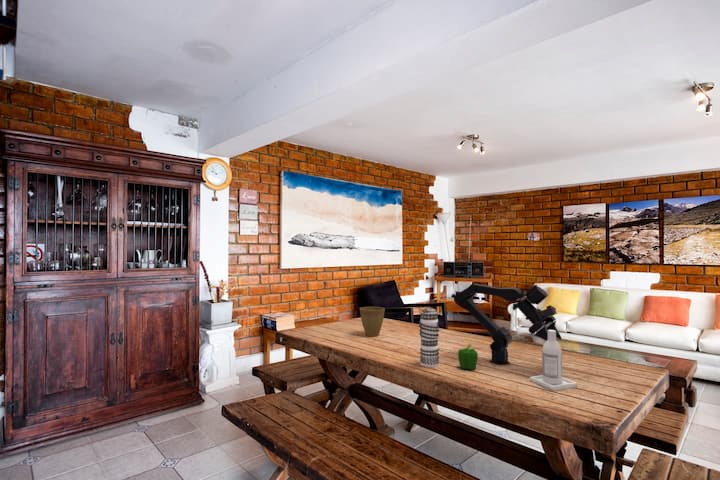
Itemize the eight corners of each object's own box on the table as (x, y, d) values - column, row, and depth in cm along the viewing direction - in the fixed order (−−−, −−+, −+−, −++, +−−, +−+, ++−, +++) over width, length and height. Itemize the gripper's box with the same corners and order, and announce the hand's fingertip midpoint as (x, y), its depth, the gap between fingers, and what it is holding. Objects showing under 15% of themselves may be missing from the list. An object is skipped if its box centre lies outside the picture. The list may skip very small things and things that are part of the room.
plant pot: (385, 338, 229) (385, 310, 229) (359, 338, 229) (359, 310, 230) (384, 332, 244) (384, 306, 244) (360, 332, 244) (359, 306, 244)
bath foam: (551, 378, 159) (550, 327, 159) (566, 383, 153) (565, 331, 153) (538, 380, 156) (537, 329, 156) (553, 386, 150) (552, 333, 150)
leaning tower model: (427, 359, 187) (426, 306, 187) (444, 363, 180) (443, 308, 181) (415, 364, 181) (414, 308, 181) (432, 368, 174) (431, 311, 174)
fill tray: (553, 391, 147) (552, 386, 147) (529, 380, 158) (529, 376, 158) (577, 387, 151) (577, 382, 151) (552, 377, 162) (552, 373, 162)
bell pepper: (468, 372, 169) (468, 348, 169) (454, 367, 176) (454, 344, 176) (482, 368, 173) (482, 345, 173) (468, 364, 180) (467, 341, 180)
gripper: (536, 302, 163) (566, 333, 155) (550, 297, 177) (578, 325, 169) (517, 319, 168) (544, 350, 161) (532, 313, 182) (558, 341, 175)
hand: (557, 341), depth 166 cm, fingers open, 9 cm apart
